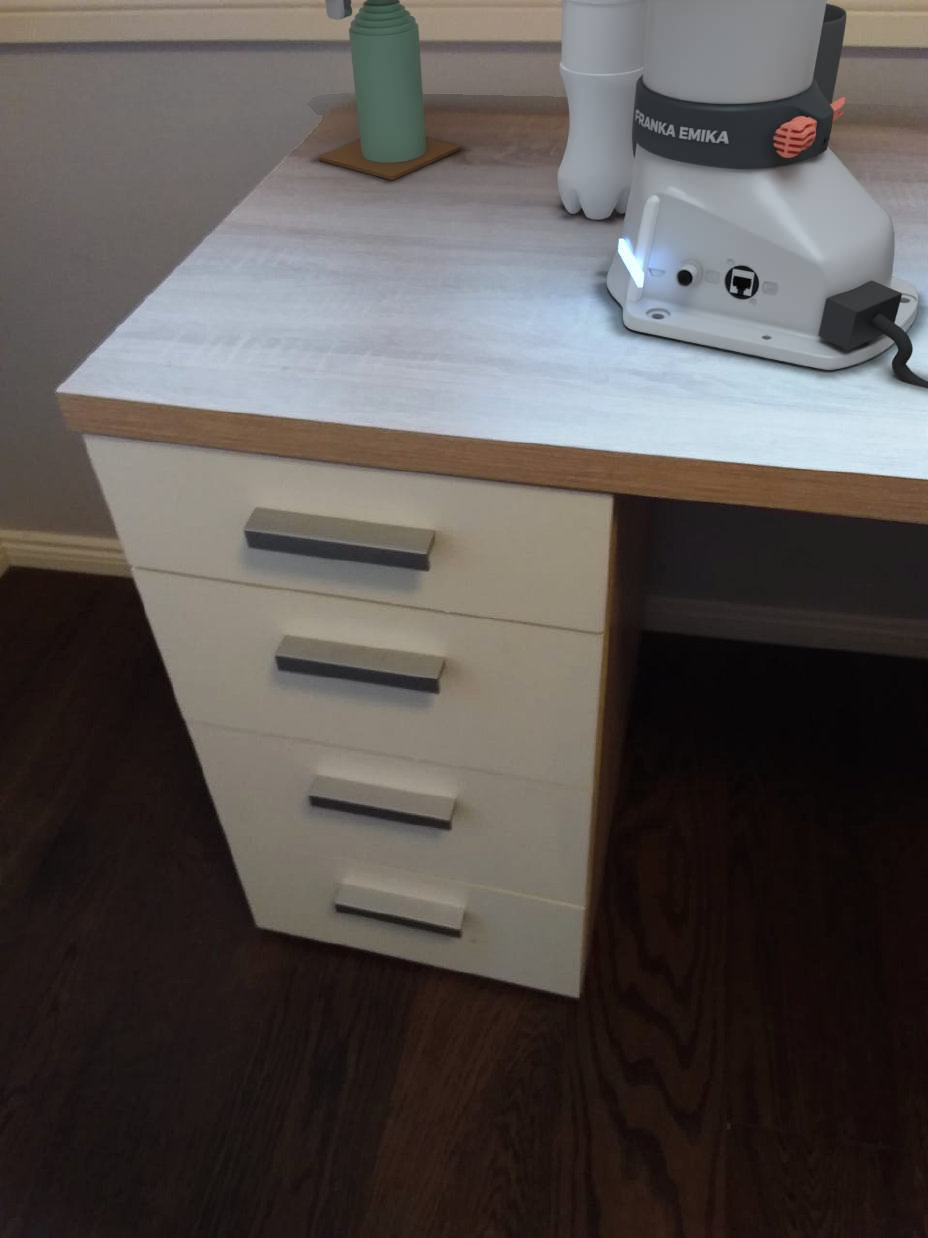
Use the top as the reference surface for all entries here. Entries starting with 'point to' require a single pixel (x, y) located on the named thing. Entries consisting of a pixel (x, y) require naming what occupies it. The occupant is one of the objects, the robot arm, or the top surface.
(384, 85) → the bottle
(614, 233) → the top surface
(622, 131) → the water bottle
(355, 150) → the mat
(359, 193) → the top surface
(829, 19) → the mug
